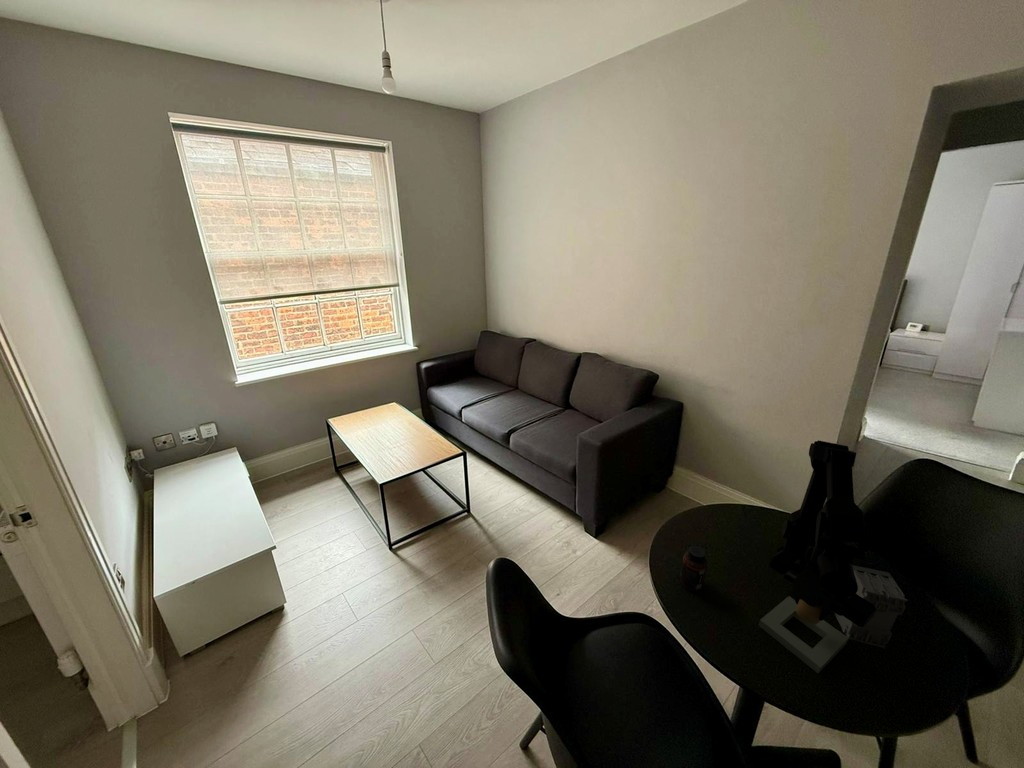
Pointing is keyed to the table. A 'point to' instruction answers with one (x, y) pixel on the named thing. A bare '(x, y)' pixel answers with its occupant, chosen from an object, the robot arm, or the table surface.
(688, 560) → the supplement bottle
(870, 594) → the circuit breaker
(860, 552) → the robot arm
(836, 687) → the table surface
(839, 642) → the collar
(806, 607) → the tan stepped cylinder
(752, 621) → the table surface
